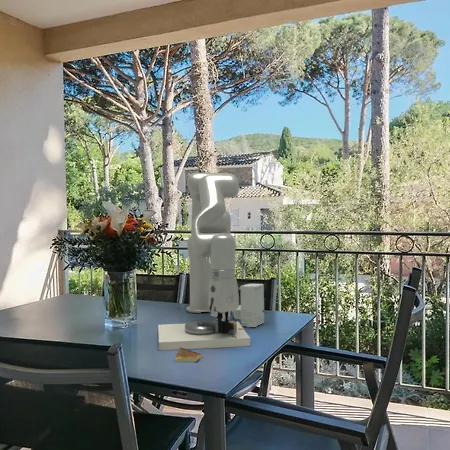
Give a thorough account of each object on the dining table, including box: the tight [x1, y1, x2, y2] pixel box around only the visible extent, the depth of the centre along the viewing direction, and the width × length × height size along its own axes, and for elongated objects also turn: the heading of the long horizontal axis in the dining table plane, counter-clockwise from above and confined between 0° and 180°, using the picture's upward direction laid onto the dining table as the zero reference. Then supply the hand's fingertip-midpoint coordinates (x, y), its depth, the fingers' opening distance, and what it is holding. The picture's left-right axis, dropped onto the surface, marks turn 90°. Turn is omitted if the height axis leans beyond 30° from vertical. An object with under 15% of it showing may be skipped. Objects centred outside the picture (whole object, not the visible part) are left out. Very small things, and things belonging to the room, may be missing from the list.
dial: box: [184, 319, 237, 335], centre depth 159 cm, size 18×11×4 cm, turn 65°
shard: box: [174, 347, 204, 363], centre depth 142 cm, size 11×8×2 cm
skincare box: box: [240, 283, 265, 328], centre depth 178 cm, size 8×6×15 cm
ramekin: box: [233, 304, 241, 320], centre depth 189 cm, size 9×9×4 cm
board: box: [157, 320, 251, 351], centre depth 160 cm, size 22×28×3 cm
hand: (223, 332), depth 153 cm, fingers closed
